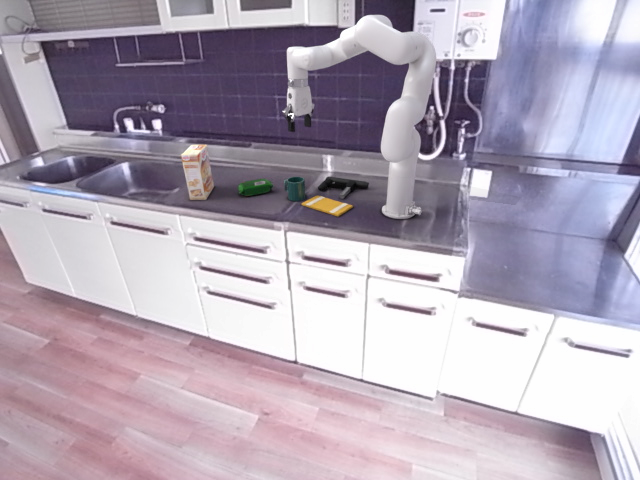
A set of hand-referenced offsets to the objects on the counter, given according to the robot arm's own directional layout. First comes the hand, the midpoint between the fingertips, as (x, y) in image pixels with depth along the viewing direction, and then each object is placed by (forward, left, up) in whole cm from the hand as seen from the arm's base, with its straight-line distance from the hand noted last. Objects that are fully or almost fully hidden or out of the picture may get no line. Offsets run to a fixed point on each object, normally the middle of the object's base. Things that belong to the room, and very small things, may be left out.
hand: (300, 129), depth 150 cm
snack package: (+15, +14, -27) cm, 33 cm away
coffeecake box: (+34, +28, -27) cm, 51 cm away
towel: (-18, +7, -26) cm, 33 cm away
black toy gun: (-14, -9, -27) cm, 31 cm away
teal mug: (-2, +8, -26) cm, 28 cm away
